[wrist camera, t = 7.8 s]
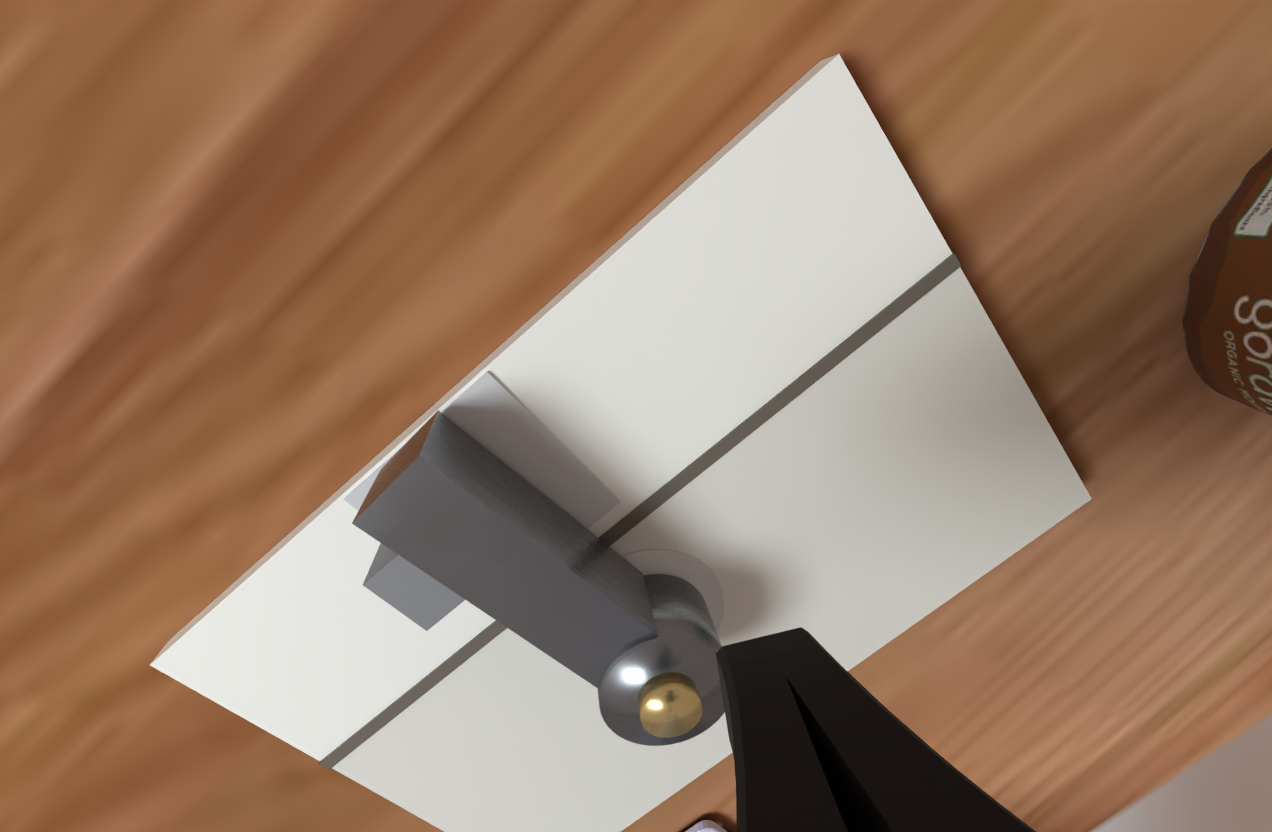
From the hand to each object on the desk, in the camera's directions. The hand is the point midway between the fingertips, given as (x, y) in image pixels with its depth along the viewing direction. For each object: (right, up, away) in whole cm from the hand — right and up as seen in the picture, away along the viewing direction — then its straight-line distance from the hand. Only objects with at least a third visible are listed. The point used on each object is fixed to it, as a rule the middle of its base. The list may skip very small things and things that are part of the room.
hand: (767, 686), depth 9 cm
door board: (-2, 0, +10) cm, 10 cm away
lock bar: (-4, 0, +8) cm, 9 cm away
